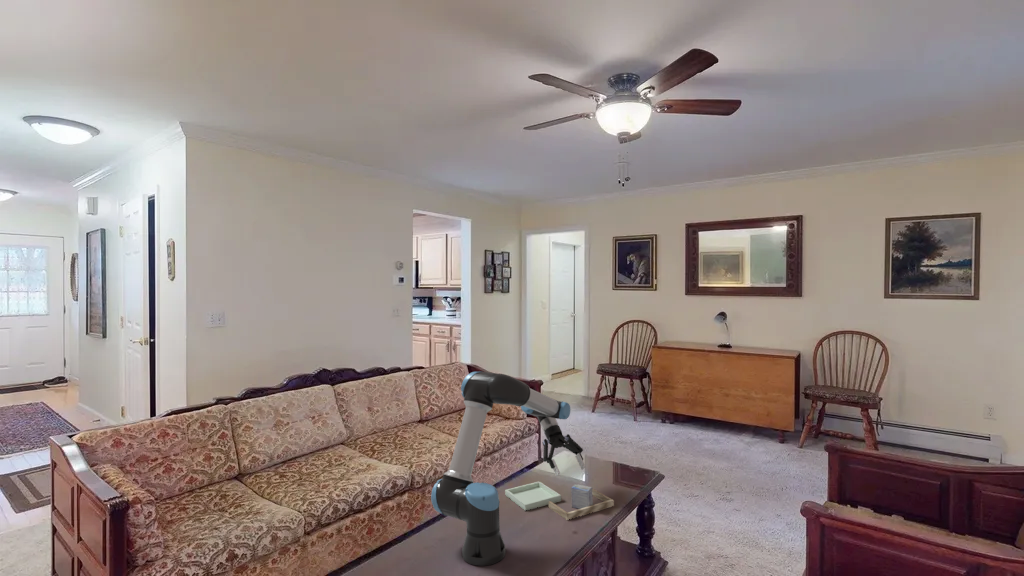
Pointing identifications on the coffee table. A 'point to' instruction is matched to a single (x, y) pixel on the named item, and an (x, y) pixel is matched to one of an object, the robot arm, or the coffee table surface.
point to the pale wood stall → (583, 511)
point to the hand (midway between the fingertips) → (571, 471)
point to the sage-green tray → (532, 495)
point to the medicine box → (581, 496)
